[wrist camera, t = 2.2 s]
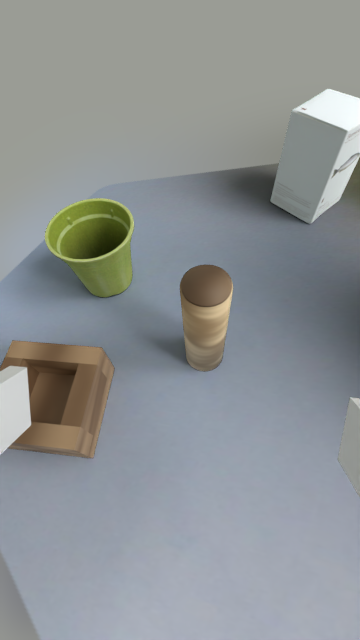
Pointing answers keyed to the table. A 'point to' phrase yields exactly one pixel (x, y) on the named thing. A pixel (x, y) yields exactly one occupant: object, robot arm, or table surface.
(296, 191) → the supplement box
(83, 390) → the socket block
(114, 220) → the plant pot
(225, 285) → the dowel
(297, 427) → the table surface
